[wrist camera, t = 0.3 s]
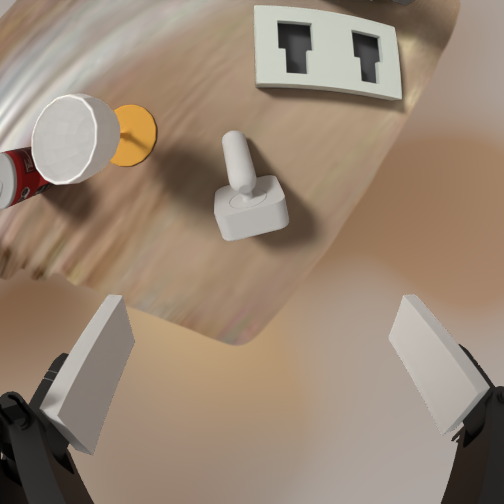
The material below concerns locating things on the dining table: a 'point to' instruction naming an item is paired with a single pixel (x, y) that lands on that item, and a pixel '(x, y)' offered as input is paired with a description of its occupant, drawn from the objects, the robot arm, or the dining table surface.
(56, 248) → the dining table surface
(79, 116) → the cup
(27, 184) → the canned food
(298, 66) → the keyhole board
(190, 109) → the dining table surface
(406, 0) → the grey slotted block
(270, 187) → the wall hook
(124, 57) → the dining table surface
